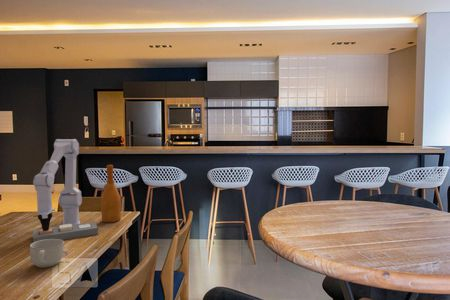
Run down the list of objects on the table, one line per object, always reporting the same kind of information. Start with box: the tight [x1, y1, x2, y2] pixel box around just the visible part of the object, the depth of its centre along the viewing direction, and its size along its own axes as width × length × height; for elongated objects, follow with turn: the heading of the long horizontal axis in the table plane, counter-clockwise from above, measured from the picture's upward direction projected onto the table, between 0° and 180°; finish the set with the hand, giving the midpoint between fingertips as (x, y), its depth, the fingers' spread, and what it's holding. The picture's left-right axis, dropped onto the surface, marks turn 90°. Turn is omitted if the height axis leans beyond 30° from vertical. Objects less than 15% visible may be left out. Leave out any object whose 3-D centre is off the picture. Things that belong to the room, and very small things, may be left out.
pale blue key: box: [78, 224, 91, 229], centre depth 152 cm, size 5×5×2 cm
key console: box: [32, 221, 99, 243], centre depth 148 cm, size 12×26×3 cm, turn 121°
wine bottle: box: [100, 164, 122, 223], centre depth 170 cm, size 10×10×30 cm
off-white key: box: [58, 224, 72, 232], centre depth 147 cm, size 5×5×2 cm
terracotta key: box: [39, 227, 53, 235], centre depth 143 cm, size 5×5×2 cm
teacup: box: [29, 239, 65, 268], centre depth 115 cm, size 14×11×8 cm
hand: (45, 230), depth 143 cm, fingers closed, pressing on terracotta key
